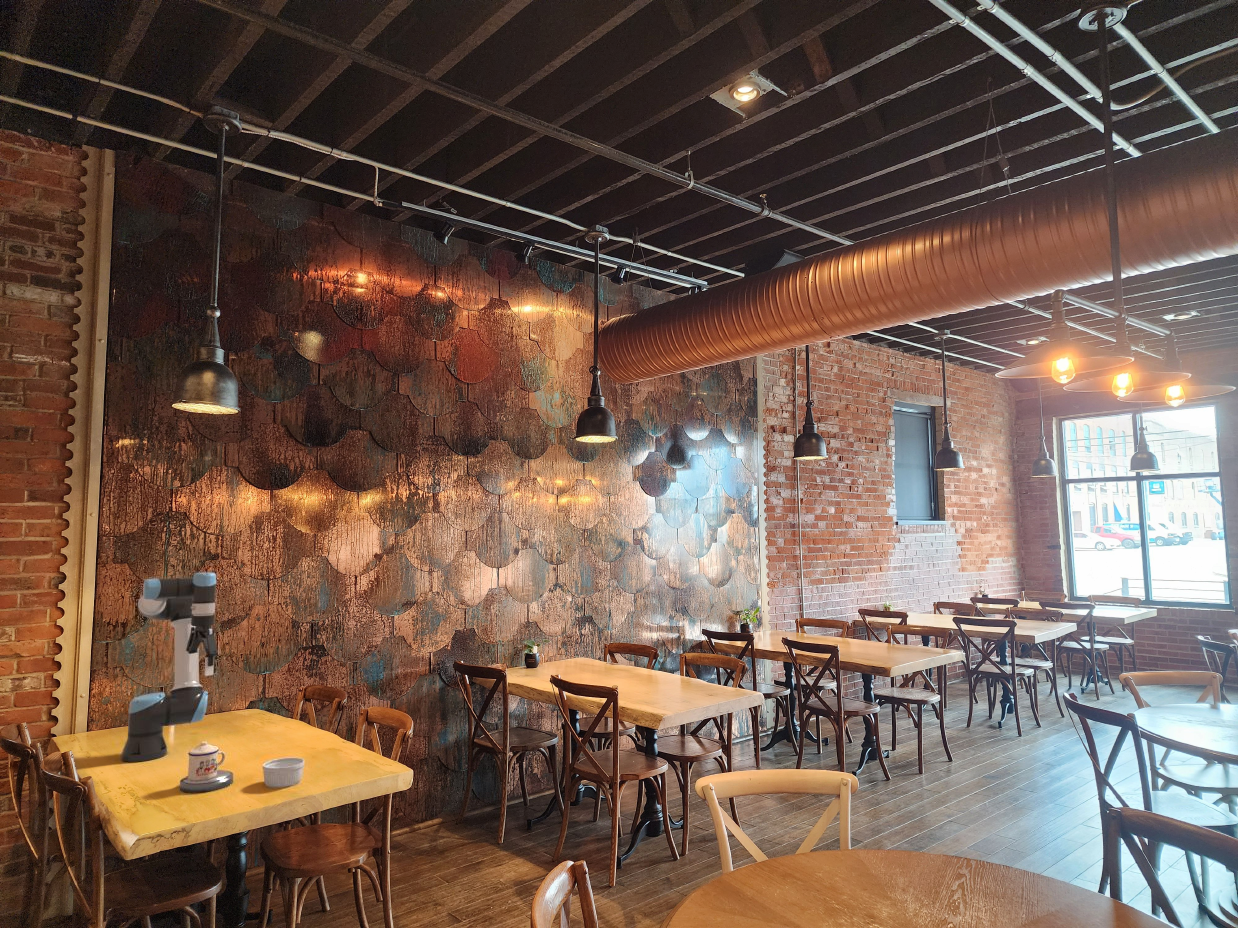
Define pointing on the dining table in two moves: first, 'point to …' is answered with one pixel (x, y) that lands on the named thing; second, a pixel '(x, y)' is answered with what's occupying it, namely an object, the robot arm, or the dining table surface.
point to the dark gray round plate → (207, 783)
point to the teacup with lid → (204, 762)
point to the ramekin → (283, 772)
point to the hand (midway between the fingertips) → (200, 673)
